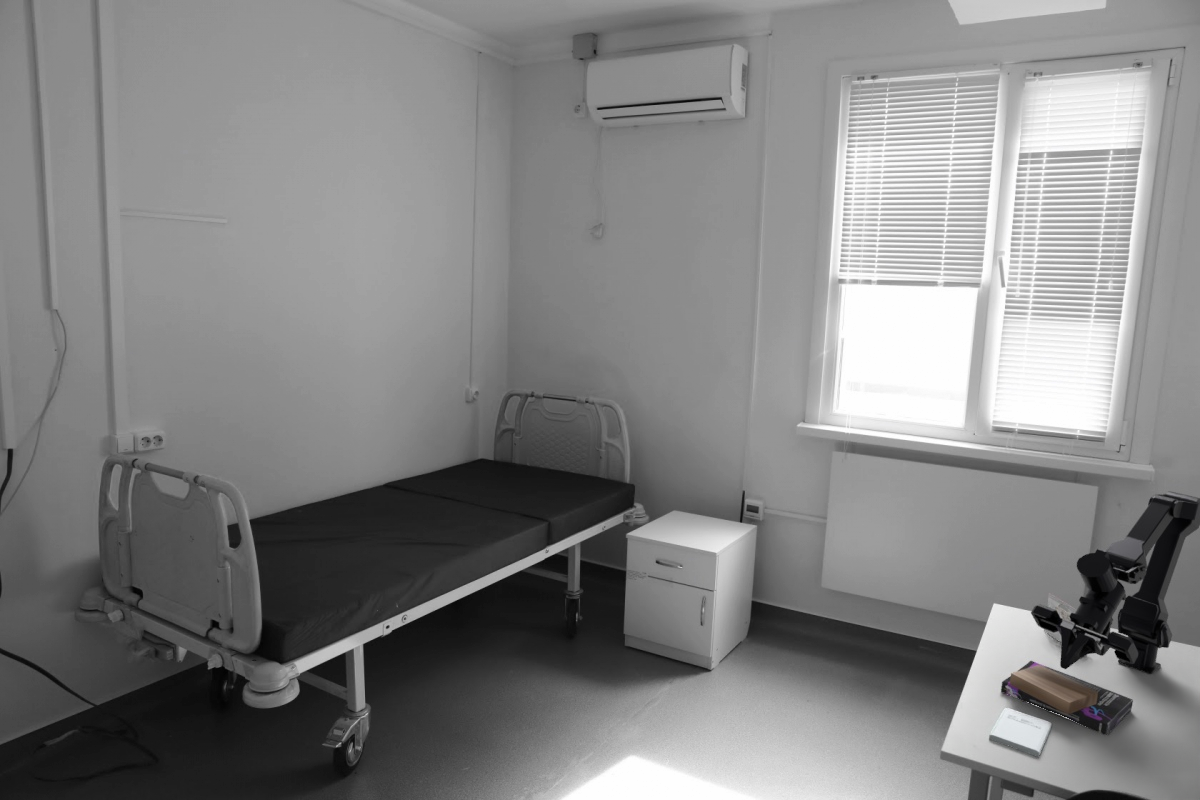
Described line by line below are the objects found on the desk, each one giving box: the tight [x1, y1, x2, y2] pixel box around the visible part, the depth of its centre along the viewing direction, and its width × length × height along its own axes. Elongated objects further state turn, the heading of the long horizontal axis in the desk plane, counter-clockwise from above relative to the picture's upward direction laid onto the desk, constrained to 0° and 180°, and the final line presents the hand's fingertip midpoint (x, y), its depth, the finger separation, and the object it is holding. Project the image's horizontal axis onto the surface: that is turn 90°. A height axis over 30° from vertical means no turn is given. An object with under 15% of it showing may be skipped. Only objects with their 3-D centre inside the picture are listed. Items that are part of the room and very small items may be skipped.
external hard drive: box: [988, 707, 1052, 758], centre depth 151 cm, size 2×8×12 cm
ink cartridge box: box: [1043, 592, 1078, 644], centre depth 190 cm, size 2×11×10 cm, turn 7°
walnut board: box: [1010, 663, 1098, 714], centre depth 160 cm, size 2×12×9 cm
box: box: [1000, 660, 1134, 736], centre depth 163 cm, size 14×4×20 cm
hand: (1062, 667), depth 161 cm, fingers closed
